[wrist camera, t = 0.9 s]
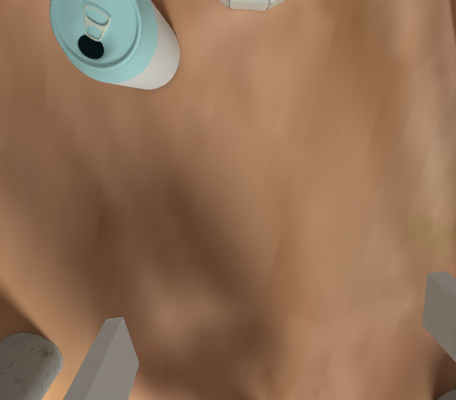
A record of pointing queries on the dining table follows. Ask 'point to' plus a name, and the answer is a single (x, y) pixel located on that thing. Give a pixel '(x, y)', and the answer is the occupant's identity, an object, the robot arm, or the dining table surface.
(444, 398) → the cup
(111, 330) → the robot arm
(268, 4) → the saucer
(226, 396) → the dining table surface
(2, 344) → the grey concrete cylinder
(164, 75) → the can
